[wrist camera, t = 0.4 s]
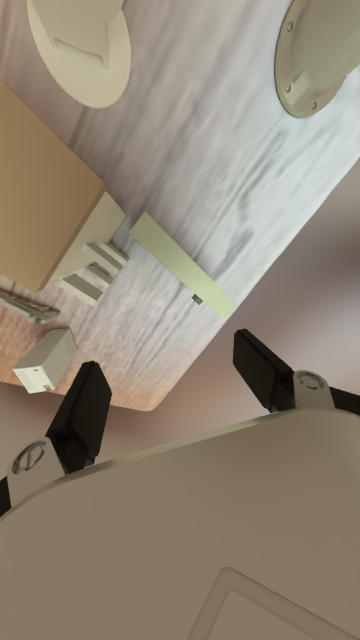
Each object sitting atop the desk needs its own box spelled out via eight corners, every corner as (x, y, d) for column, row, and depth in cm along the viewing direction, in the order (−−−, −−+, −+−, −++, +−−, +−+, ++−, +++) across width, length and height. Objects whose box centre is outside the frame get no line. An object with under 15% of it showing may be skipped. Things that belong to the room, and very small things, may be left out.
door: (145, 222, 29) (144, 210, 17) (206, 284, 37) (236, 305, 25) (131, 241, 30) (122, 241, 18) (194, 297, 38) (217, 324, 26)
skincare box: (49, 329, 35) (7, 368, 24) (71, 327, 36) (39, 364, 25) (59, 351, 38) (26, 395, 27) (79, 349, 38) (54, 390, 28)
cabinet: (55, 145, 23) (-192, -112, 6) (147, 234, 30) (149, 227, 13) (17, 217, 26) (-224, 175, 9) (110, 283, 33) (74, 328, 16)
